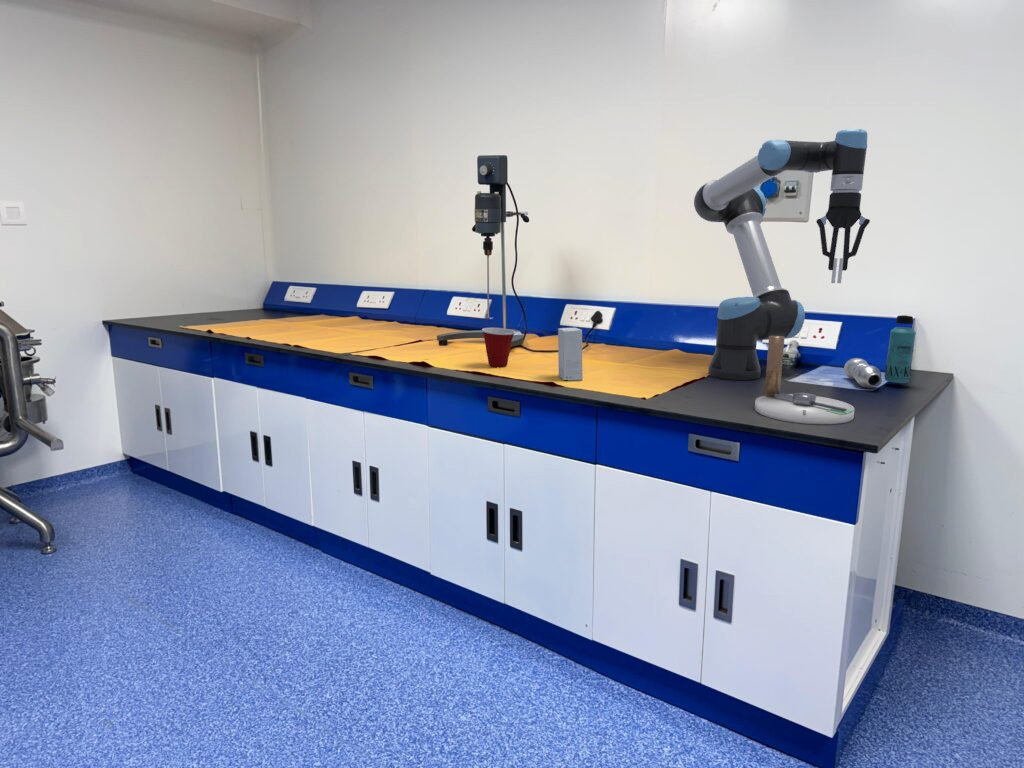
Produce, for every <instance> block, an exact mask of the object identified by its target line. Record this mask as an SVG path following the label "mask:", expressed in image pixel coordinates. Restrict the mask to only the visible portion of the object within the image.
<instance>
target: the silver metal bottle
mask: <svg viewBox="0 0 1024 768" xmlns="http://www.w3.org/2000/svg"><path fill="white" fill-rule="evenodd" d="M843 370H844V374H845V375H846V377H848V378H849V379H851V380H854V379H855V380H854V381H856V382H857V384H858V385H859V386H860V387H862V388H865V387H867V388H866V389H869V388H870V389H871V388H876V387H879V386H880V385H882V382H883V378H882V371H881V370H880V369H879V368H878V367H877V366H874V365H869V363H868V362H867V361H866V360H865V359H863V358H861V357H860V358H858V357H854V358H850V359H849V360H847V361H846V362H845V364H844V367H843Z"/></svg>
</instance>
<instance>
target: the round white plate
mask: <svg viewBox="0 0 1024 768" xmlns="http://www.w3.org/2000/svg"><path fill="white" fill-rule="evenodd" d="M788 394H789V395H793V394H794V393H788ZM754 401H755V402H754V403H755V404H754V410H755V412H757V414H760V415H762V416H765V417H767V418H771V419H774V420H778V421H783V422H790V423H796V424H807V425H838V424H840V425H841V424H844V423H845V424H846V423H849V422H851V421H853V420H854V418H855V407H854V406H853V405H851V404H850V403H847V402H845V401H842V400H838V399H833V398H830V397H824V396H817V395H816V401H815V402H817V403H822V404H827V405H831V406H836V407H840V408H845V409H846V411H844V412H843V411H839V410H834V409H830V408H825V407H821V406H816V405H798V404H795V403H793V401H791V400H787V399H782V398H778V397H776V398H773V397H766V396H764V395H762V396H759V397H757V398H755V400H754Z"/></svg>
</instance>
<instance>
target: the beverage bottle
mask: <svg viewBox="0 0 1024 768" xmlns="http://www.w3.org/2000/svg"><path fill="white" fill-rule="evenodd" d="M895 323H896V324H899V325H900V324H903V325H912V324H913V323H914V317H913V316H912V315H897V316H896V320H895ZM916 334H917V333H916V331H915V330H914V329H913V328H911V327H905V326H904V327H903V326H895V327H894V328H892V329H891V330H890V335H889V342H888V348H887V349H888V350H887V352H886V354H887V355H886V363H885V369H884V376H883V378H884V381H886V382H888V383H889V382H890V383H894V384H895V383H897V384H898V383H899V384H904V383H905V384H907V383H909V382H910V380H911V371H912V363H913V357H914V356H913V355H914V345H915V338H916Z"/></svg>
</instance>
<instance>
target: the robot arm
mask: <svg viewBox="0 0 1024 768" xmlns="http://www.w3.org/2000/svg"><path fill="white" fill-rule="evenodd" d="M867 148H868V132H867V130H866V129H862V128H850V129H848V128H847V129H842V130H839V131H836V134H835V138H834V140H833V141H831V140H829V141H801V140H784V139H771V140H766V141H765V142H764V143H762V145H761V147H760V148H759V149H758V153H757V155H755V156H754V157H752V158H750V159H749V160H748V161H746V162H744V163H742V164H741V165H739V166H738V167H736V168H735V169H733V170H732V171H730V172H728V173H727V174H724V176H722V177H720V178H719V179H712V180H709V181H707V182H706V183H704V184H703V185H702V186H700V188H699V189H698V190H697V191H696V193H695V195H694V197H693V198H694V199H693V206H694V210H695V212H696V213H697V215H698V217H700V218H701V219H703V220H705V221H707V222H709V223H710V222H711V223H723V224H724V226H725V230H726V231H727V233H729V234H731V235H733V238H734V241H735V244H736V247H737V250H738V253H739V257H740V260H741V262H742V265H743V268H744V272H745V275H746V278H747V282H748V285H749V288H750V291H751V293H752V296H742V297H741V296H739V297H730V298H726V299H724V300H722V301H721V302H720V303H719V305H718V309H717V315H716V316H717V324H716V337H715V338H716V340H715V341H716V342H715V351H714V352H713V355H712V357H711V359H710V363H709V364H708V365H709V366H708V373H707V374H708V375H709V376H710V377H714V378H718V379H723V380H732V381H733V380H734V381H735V380H736V381H751V380H756V379H757V380H758V379H760V377H761V373H762V372H761V371H762V370H761V364H760V362H759V358H758V354H757V343H758V341H766V340H768V341H769V336H772V335H776V336H784V337H785V338H784V340H786V339H793V338H794V337H796V336H797V335H798V334H799V333H800V332H801V330H802V329H803V327H804V323H805V318H806V313H805V312H806V311H805V309H804V306H803V304H802V302H800V301H798V300H795V299H792V297H791V295H790V292H789V290H788V289H786V288H784V287H782V284H781V282H780V278H779V276H778V273H777V270H776V267H775V265H774V261H773V259H772V256H771V251H770V250H769V246H768V242H767V241H766V237H765V234H764V233H763V229H762V227H761V223H762V222H763V220H764V216H765V213H766V211H767V208H766V207H767V200H766V197H765V194H764V193H763V191H762V190H761V189H759V188H758V186H759V185H760V186H761V184H763V183H765V182H767V181H769V180H771V179H772V178H773V177H776V176H777V175H780V174H781V173H783V172H785V171H797V172H798V171H799V172H800V171H802V172H805V173H816V174H817V173H821V172H827V171H831V177H830V178H831V180H830V191H831V193H830V194H829V197H828V198H829V201H828V209H827V211H826V213H825V215H824V216H822V217H821V218H817V219H816V224H817V226H818V227H819V234H820V244H821V252H822V253H821V254H822V255H823V256H825V257H828V259H829V260H828V267H827V268H828V269H827V270H829V271H831V272H832V273H831V284H836V283H837V284H842V278H843V277H842V275H843V271H847V270H848V267H849V266H848V265H849V264H848V263H849V259H850V258H852V257H855V256H856V255H857V253H858V250H859V248H860V244H861V243H862V239H863V236H864V232H865V229H866V228H867V226H868V225H869V224H870V222H871V220H870V219H869V218H866V217H864V216H862V212H861V201H862V193H861V192H860V191H862V190H863V183H864V174H865V173H864V171H865V164H866V156H867V155H866V154H867ZM827 221H828V222H829V224H830V225H831V227H832V228H833V229H832V237H831V242H830V248H829V251H828V245H827V236H826V227H825V225H827ZM857 221H859V222H858V224H859V227H858V230H857V233H856V236H855V239H854V242H853V245H852V248H851V251H850V243H851V242H850V241H851V240H850V239H851V229H852V227H853V226H854V225H856V223H857ZM840 229H844V235H843V236H844V237H843V252H842V258H841V257H840V258H839V263H838V258H837V257H836V250H837V244H838V236H839V233H840ZM837 264H838V265H837ZM837 267H838V272H837ZM836 274H837V275H836ZM836 276H837V277H836ZM836 278H837V282H836Z"/></svg>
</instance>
